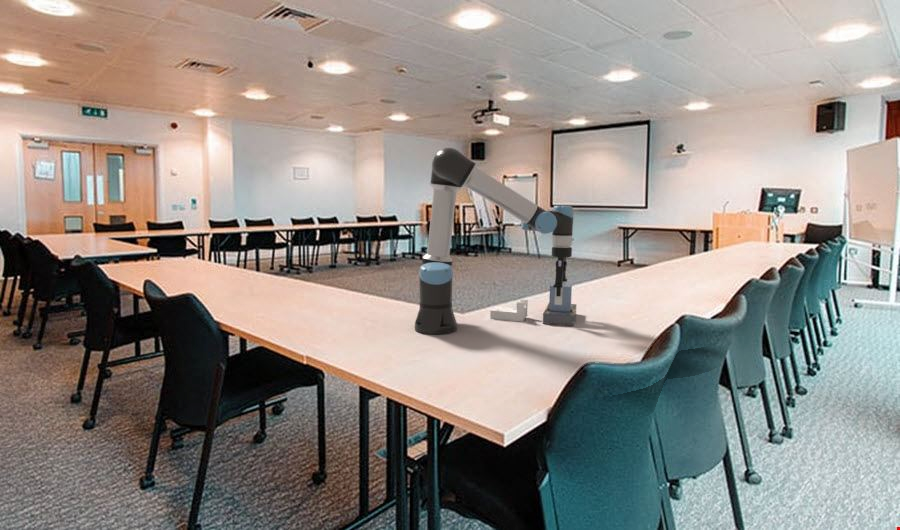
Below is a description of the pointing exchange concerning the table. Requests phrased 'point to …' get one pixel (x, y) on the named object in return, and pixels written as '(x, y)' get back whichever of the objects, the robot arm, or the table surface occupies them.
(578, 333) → the table surface
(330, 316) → the table surface
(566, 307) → the panel
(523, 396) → the table surface
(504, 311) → the bracket
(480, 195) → the robot arm
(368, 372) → the table surface
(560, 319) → the rack
